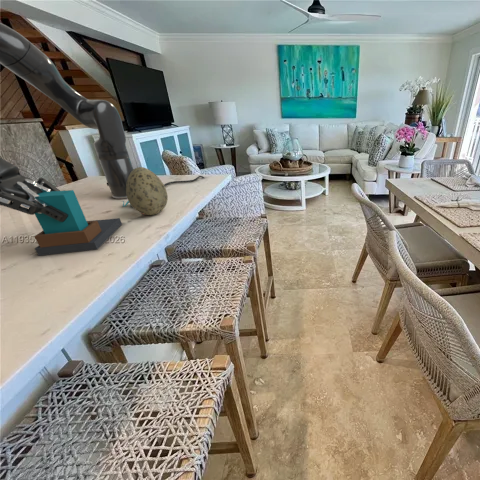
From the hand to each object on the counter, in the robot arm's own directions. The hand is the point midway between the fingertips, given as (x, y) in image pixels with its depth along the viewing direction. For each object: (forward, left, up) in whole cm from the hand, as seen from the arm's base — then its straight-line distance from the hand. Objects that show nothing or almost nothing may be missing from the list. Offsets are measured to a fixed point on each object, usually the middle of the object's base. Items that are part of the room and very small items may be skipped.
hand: (70, 214), depth 63 cm
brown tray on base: (-2, -5, -8) cm, 10 cm away
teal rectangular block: (+1, -1, -5) cm, 5 cm away
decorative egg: (-21, -6, -8) cm, 24 cm away
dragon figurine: (-23, -20, -8) cm, 31 cm away
